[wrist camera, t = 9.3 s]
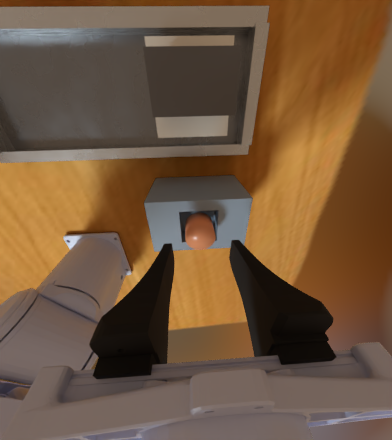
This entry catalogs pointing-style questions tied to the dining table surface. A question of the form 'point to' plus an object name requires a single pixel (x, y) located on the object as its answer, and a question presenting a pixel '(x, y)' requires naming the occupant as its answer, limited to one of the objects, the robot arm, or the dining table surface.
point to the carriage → (192, 83)
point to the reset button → (199, 231)
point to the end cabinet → (197, 209)
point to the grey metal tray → (111, 80)
